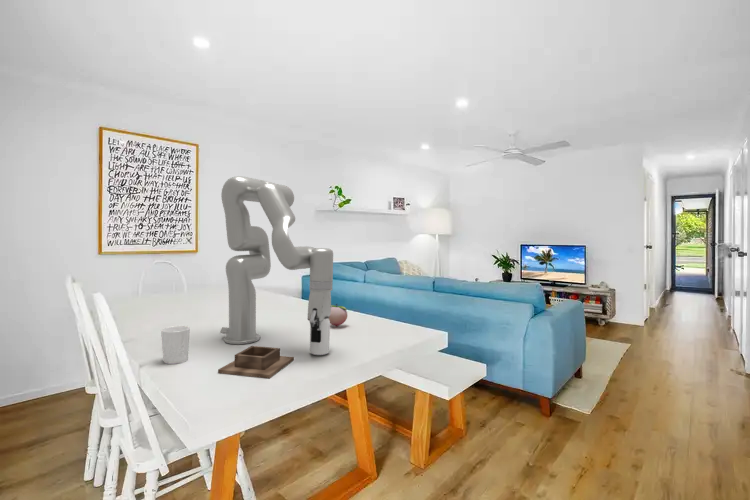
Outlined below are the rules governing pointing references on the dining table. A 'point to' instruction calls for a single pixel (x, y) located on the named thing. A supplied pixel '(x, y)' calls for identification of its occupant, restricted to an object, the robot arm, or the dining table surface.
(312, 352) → the can
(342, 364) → the dining table surface
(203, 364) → the dining table surface
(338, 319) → the decorative fruit
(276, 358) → the box
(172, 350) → the white cup
